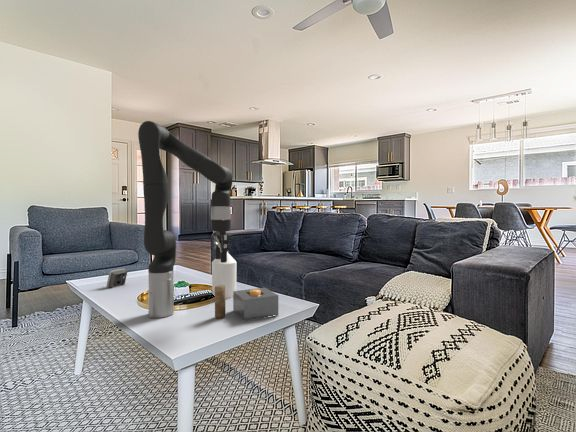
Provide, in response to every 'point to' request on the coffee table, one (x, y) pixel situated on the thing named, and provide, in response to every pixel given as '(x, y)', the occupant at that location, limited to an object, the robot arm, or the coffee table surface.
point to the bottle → (224, 275)
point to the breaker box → (255, 304)
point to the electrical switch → (116, 278)
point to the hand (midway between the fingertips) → (220, 260)
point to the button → (255, 292)
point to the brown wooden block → (220, 302)
